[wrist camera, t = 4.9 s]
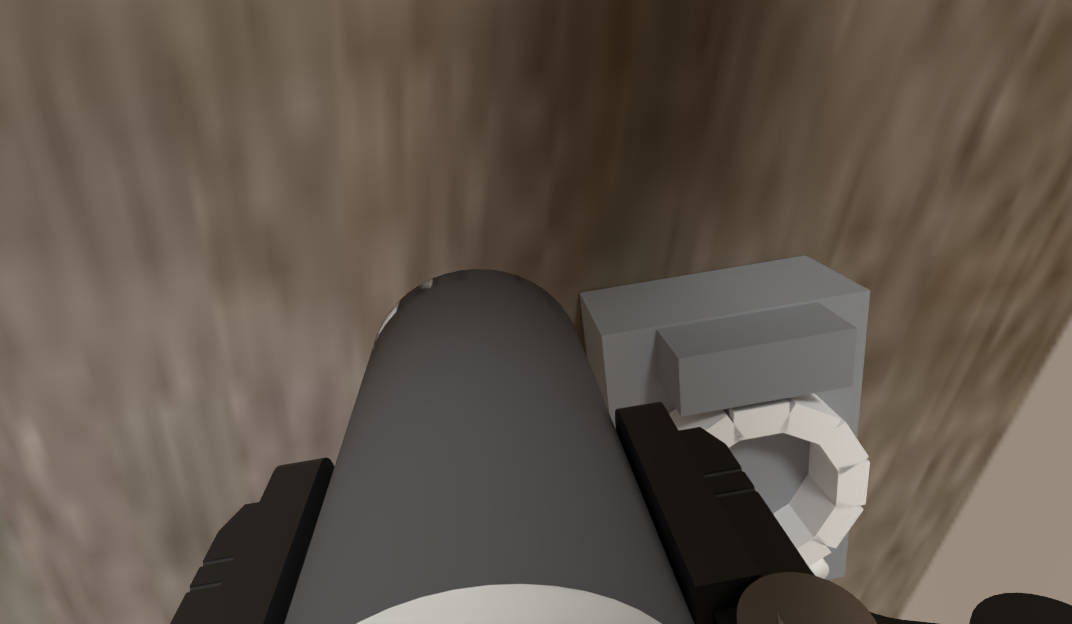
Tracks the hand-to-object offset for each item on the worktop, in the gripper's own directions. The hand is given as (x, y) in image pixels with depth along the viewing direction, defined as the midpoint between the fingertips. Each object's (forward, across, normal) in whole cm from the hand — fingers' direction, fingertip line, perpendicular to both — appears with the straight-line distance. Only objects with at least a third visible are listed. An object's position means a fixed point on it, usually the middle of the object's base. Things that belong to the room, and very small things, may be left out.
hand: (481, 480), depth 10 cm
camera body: (+15, -9, +10) cm, 21 cm away
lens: (+4, 0, 0) cm, 4 cm away
